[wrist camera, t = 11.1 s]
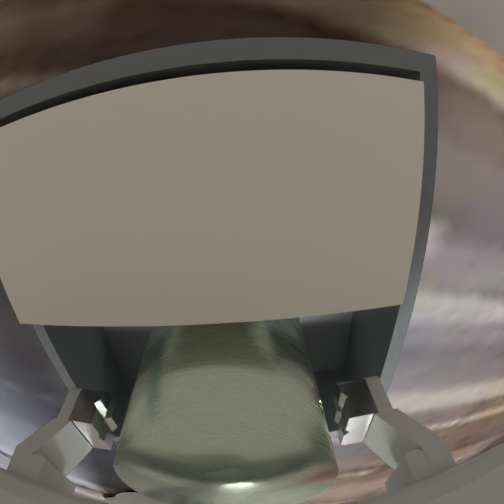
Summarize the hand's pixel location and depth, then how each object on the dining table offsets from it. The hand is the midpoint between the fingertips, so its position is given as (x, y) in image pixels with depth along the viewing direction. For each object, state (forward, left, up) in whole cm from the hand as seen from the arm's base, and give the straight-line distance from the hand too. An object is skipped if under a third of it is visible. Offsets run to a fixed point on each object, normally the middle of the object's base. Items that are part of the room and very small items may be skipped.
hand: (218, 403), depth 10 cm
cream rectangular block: (+7, 0, -5) cm, 9 cm away
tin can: (0, 0, -5) cm, 5 cm away
